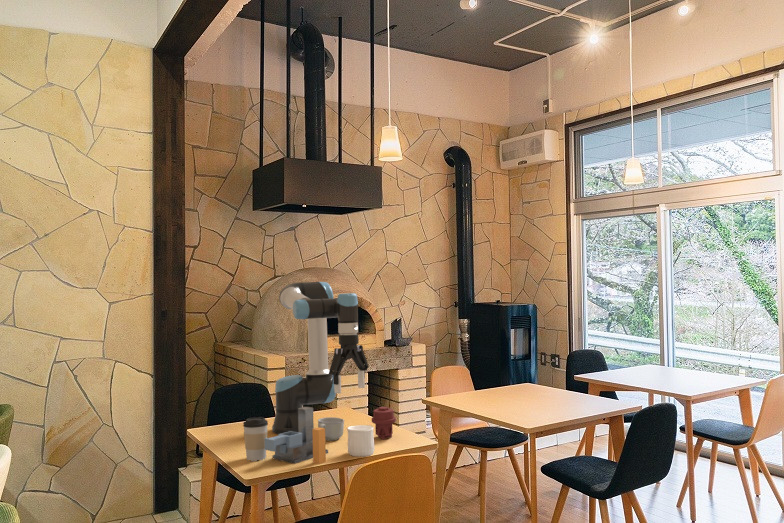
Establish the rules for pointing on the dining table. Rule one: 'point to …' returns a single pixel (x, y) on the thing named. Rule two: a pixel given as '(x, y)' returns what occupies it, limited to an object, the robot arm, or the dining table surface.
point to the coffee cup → (255, 438)
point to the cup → (360, 440)
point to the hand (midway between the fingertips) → (349, 390)
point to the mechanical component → (383, 422)
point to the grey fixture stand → (306, 448)
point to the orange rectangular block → (319, 445)
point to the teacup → (332, 427)
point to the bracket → (283, 441)
